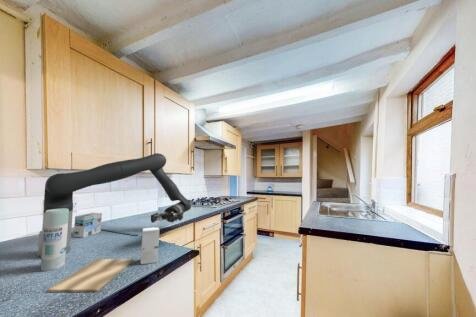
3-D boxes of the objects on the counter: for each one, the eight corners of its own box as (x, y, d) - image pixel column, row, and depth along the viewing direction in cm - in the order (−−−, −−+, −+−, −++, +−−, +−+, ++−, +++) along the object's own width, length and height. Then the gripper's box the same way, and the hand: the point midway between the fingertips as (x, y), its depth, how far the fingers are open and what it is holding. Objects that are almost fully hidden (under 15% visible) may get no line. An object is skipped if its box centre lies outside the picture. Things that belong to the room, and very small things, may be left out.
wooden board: (46, 291, 55) (47, 289, 56) (96, 260, 75) (96, 259, 75) (97, 291, 56) (97, 289, 56) (133, 260, 76) (133, 259, 76)
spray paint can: (68, 261, 74) (72, 207, 76) (59, 269, 68) (64, 210, 70) (46, 264, 72) (50, 208, 74) (35, 272, 66) (40, 212, 68)
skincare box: (140, 265, 72) (141, 231, 73) (140, 260, 76) (141, 228, 77) (158, 262, 75) (159, 229, 76) (157, 257, 79) (158, 226, 80)
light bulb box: (83, 238, 102) (84, 216, 103) (72, 237, 103) (74, 216, 104) (101, 232, 113) (102, 212, 113) (91, 231, 114) (92, 212, 115)
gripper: (160, 205, 104) (146, 211, 88) (187, 205, 104) (178, 211, 88) (159, 220, 104) (145, 229, 88) (186, 219, 104) (177, 228, 88)
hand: (162, 220), depth 88 cm, fingers open, 8 cm apart
